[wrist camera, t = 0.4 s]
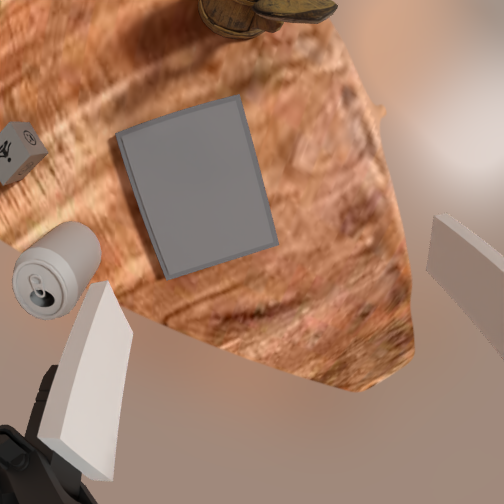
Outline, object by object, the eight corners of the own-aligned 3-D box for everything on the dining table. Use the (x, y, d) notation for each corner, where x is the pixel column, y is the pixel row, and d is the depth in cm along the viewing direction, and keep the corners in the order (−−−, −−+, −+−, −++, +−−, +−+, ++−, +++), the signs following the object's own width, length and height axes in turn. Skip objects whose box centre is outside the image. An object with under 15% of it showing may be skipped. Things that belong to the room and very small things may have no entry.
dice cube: (29, 122, 29) (10, 121, 24) (48, 152, 31) (30, 155, 26) (4, 149, 29) (-17, 152, 25) (22, 179, 31) (3, 185, 27)
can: (53, 275, 36) (15, 323, 25) (47, 219, 33) (-1, 252, 22) (105, 277, 37) (78, 330, 26) (101, 219, 35) (67, 254, 24)
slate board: (118, 133, 32) (114, 133, 31) (237, 96, 33) (239, 94, 32) (167, 275, 39) (166, 281, 37) (276, 240, 40) (279, 245, 38)
